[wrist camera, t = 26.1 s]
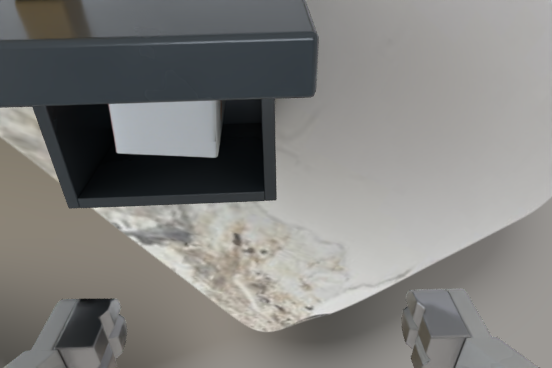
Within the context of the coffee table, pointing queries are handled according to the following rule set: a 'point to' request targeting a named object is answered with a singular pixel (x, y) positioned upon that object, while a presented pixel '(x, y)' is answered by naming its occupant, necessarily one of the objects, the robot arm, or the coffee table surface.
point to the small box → (168, 128)
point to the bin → (160, 160)
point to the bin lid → (154, 51)
